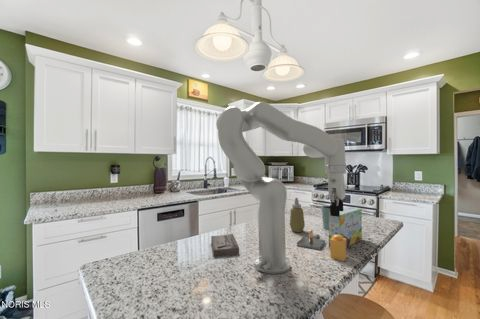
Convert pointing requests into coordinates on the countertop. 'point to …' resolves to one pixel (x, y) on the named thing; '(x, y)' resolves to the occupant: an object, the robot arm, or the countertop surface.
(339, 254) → the cube with dome knob
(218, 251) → the box
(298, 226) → the squeeze bottle
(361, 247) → the countertop surface
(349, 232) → the snack box
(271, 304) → the countertop surface
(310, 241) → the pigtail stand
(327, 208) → the green cup
